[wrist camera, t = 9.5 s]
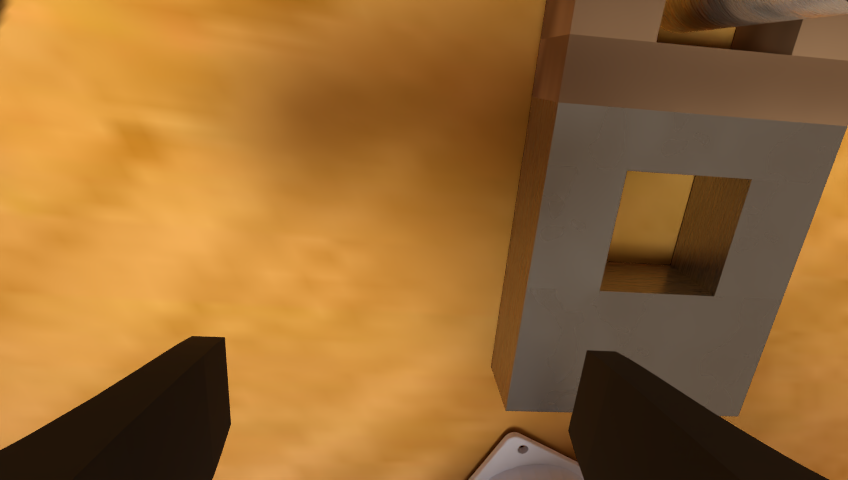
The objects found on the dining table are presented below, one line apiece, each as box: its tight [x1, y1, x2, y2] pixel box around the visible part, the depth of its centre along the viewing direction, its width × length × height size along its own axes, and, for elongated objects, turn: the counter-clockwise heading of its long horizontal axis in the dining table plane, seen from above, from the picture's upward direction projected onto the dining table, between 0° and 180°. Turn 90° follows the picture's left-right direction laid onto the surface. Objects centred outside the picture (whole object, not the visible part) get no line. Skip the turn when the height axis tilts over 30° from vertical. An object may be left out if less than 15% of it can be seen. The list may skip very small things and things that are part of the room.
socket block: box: [491, 97, 847, 416], centre depth 19 cm, size 12×10×3 cm
